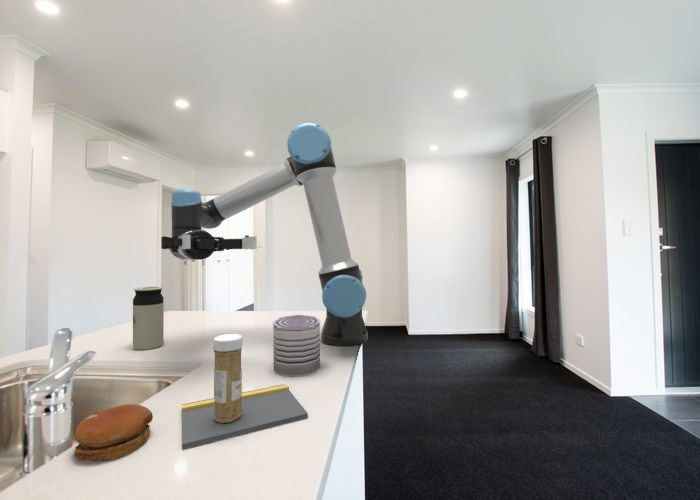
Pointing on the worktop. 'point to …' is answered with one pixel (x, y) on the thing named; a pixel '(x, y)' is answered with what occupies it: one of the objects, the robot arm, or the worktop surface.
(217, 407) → the sprinkles bottle
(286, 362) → the can
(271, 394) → the mat
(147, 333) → the travel mug
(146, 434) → the burger
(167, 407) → the worktop surface
